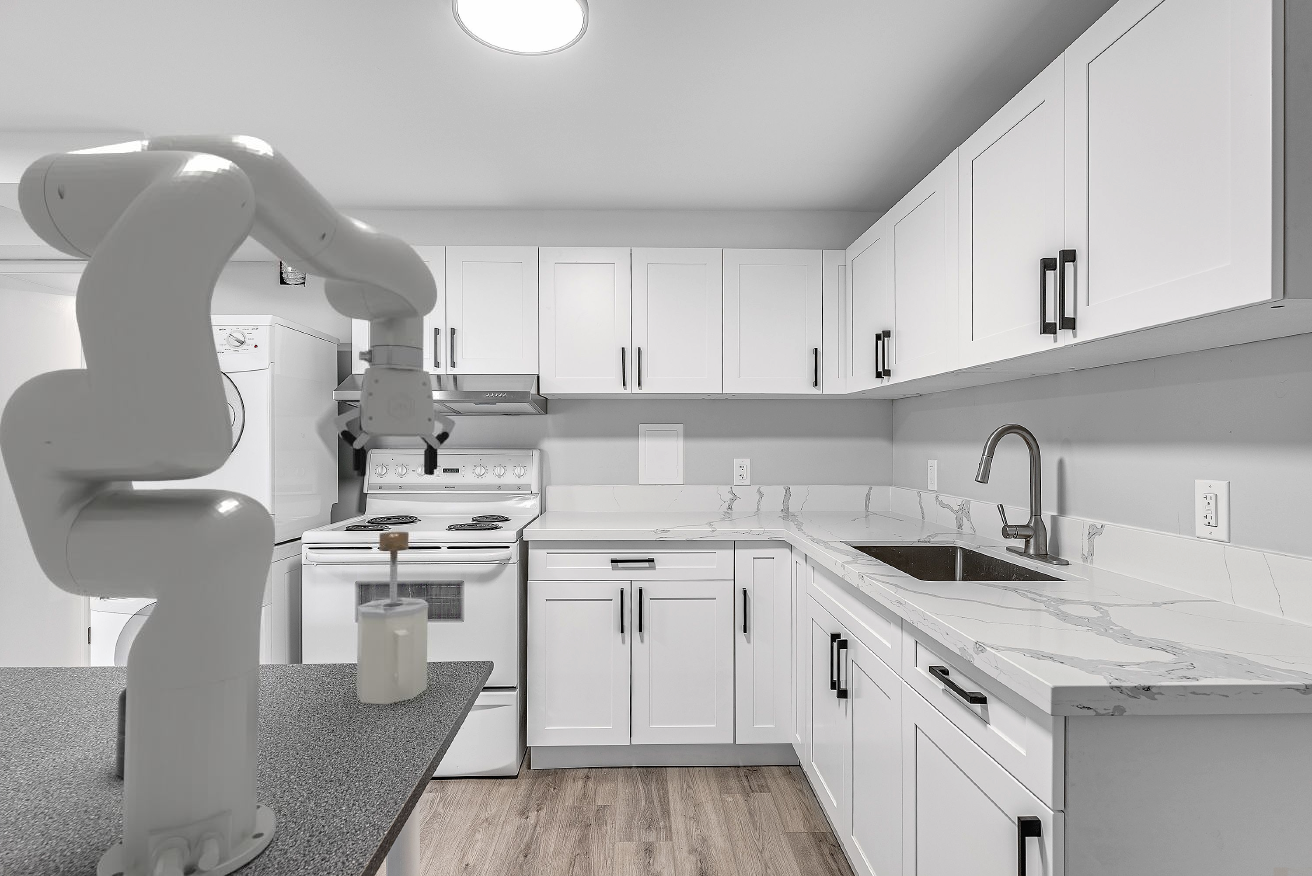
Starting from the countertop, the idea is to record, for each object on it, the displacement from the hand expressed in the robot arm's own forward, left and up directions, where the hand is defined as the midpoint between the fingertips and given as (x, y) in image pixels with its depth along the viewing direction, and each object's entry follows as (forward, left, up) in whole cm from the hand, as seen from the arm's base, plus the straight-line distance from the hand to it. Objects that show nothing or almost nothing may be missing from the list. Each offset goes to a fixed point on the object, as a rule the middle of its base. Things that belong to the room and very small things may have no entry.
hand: (396, 475), depth 96 cm
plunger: (0, 0, -26) cm, 26 cm away
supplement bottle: (-9, +27, -32) cm, 43 cm away
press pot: (-2, 0, -32) cm, 32 cm away
